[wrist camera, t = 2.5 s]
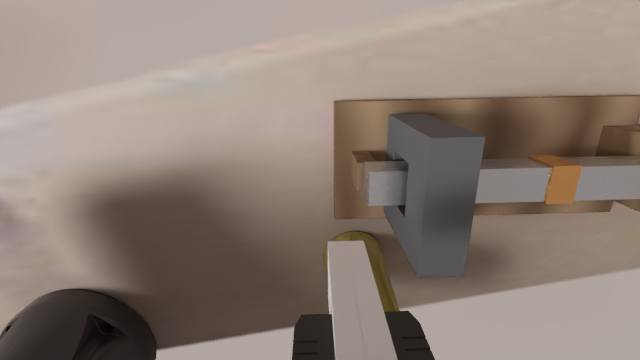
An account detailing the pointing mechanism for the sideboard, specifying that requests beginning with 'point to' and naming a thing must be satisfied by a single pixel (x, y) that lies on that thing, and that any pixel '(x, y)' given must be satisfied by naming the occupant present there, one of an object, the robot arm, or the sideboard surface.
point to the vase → (373, 267)
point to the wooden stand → (489, 140)
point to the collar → (434, 191)
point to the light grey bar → (522, 180)
